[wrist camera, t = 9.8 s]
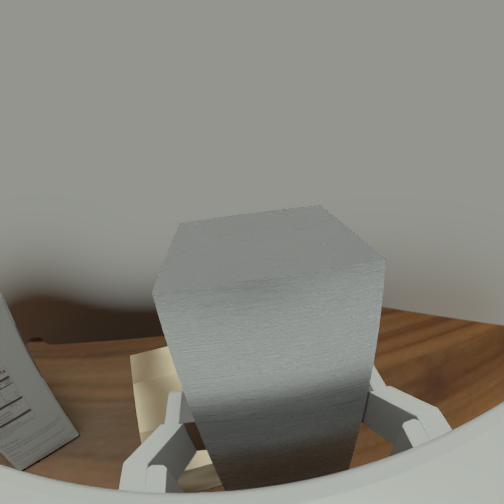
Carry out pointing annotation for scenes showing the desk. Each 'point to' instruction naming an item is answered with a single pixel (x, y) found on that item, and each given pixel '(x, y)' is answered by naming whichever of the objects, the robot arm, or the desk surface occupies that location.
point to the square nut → (154, 410)
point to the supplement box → (26, 402)
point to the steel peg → (272, 339)
